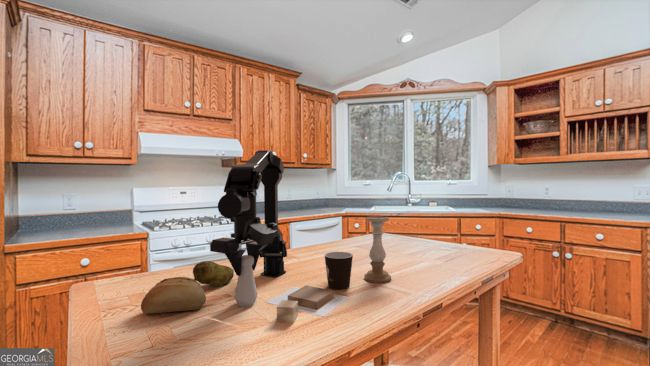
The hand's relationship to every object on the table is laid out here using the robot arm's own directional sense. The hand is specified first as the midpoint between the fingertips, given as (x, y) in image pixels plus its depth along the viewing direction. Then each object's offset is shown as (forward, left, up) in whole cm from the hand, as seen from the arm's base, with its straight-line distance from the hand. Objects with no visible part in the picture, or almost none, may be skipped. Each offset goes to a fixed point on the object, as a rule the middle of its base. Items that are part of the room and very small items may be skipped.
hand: (245, 272), depth 83 cm
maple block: (+15, -2, -9) cm, 17 cm away
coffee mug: (+15, +25, -9) cm, 30 cm away
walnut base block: (+14, +10, -8) cm, 19 cm away
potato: (-20, +7, -9) cm, 23 cm away
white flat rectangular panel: (+13, +10, -8) cm, 18 cm away
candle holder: (+23, +37, -9) cm, 44 cm away
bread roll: (-14, -11, -9) cm, 20 cm away
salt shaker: (0, 0, -9) cm, 9 cm away
